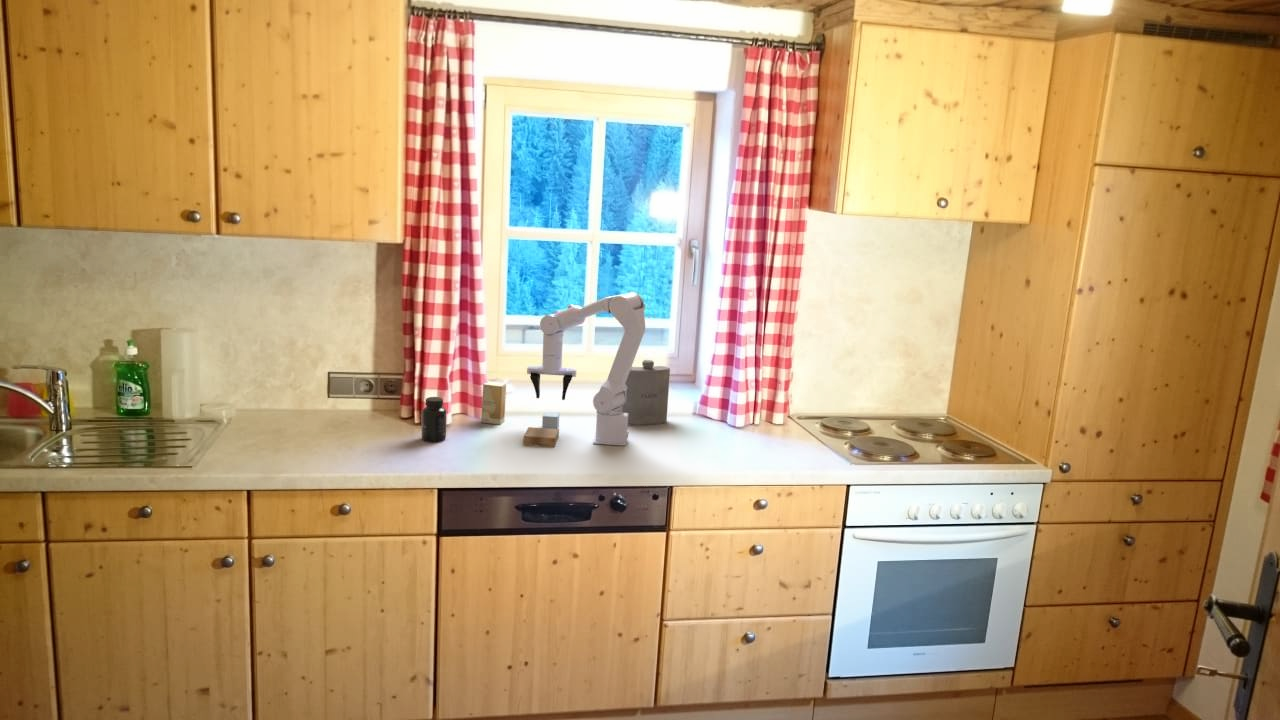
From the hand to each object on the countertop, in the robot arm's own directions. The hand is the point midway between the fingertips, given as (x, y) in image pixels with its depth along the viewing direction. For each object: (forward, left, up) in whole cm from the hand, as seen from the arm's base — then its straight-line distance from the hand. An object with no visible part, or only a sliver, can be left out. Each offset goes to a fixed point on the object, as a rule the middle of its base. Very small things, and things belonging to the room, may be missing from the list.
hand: (550, 398), depth 280 cm
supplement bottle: (+31, +17, -10) cm, 37 cm away
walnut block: (+1, +12, -10) cm, 16 cm away
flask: (-28, -14, -10) cm, 33 cm away
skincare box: (+18, -4, -10) cm, 21 cm away
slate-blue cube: (0, -1, -10) cm, 10 cm away
